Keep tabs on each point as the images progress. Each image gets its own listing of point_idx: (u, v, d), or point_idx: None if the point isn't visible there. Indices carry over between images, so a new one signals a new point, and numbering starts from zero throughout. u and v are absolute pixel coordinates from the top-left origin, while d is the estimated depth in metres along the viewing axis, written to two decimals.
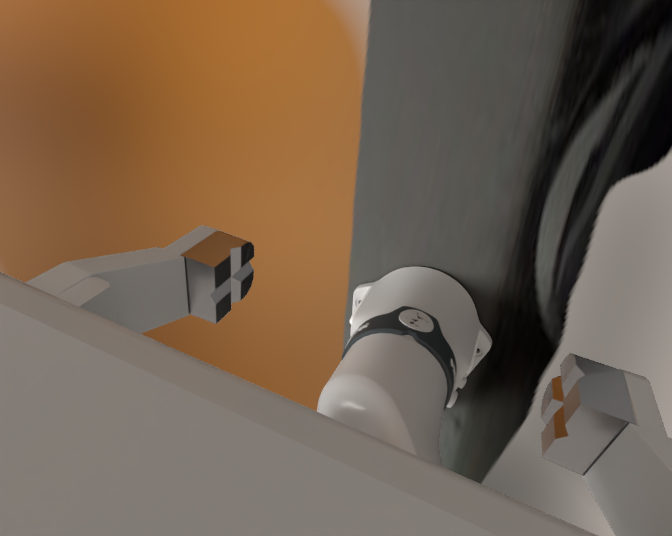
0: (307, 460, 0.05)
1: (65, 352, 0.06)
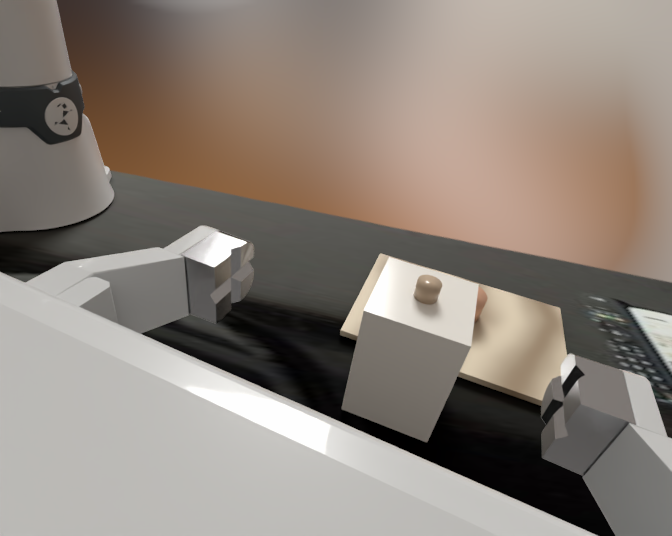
0: (307, 460, 0.05)
1: (65, 352, 0.06)
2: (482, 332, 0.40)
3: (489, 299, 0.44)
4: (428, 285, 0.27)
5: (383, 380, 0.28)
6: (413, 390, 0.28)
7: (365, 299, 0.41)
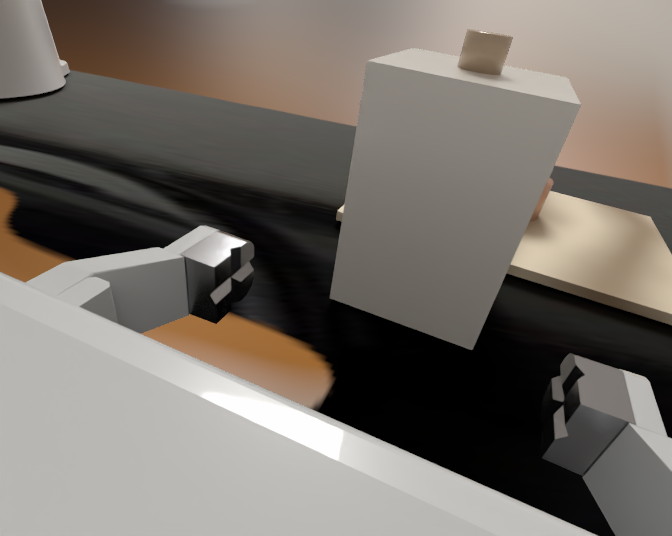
0: (307, 460, 0.05)
1: (65, 352, 0.06)
2: (545, 230, 0.27)
3: (549, 200, 0.31)
4: (488, 33, 0.14)
5: (400, 224, 0.16)
6: (454, 238, 0.16)
7: None
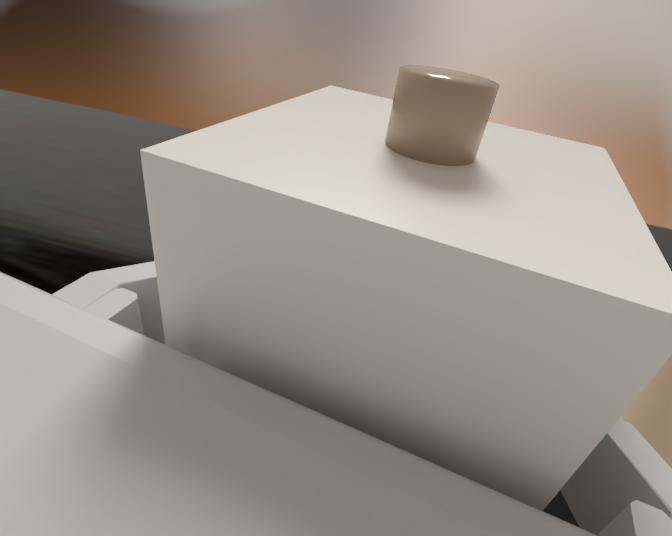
0: (307, 460, 0.05)
1: (65, 352, 0.06)
2: None
3: None
4: (442, 78, 0.06)
5: None
6: None
7: None
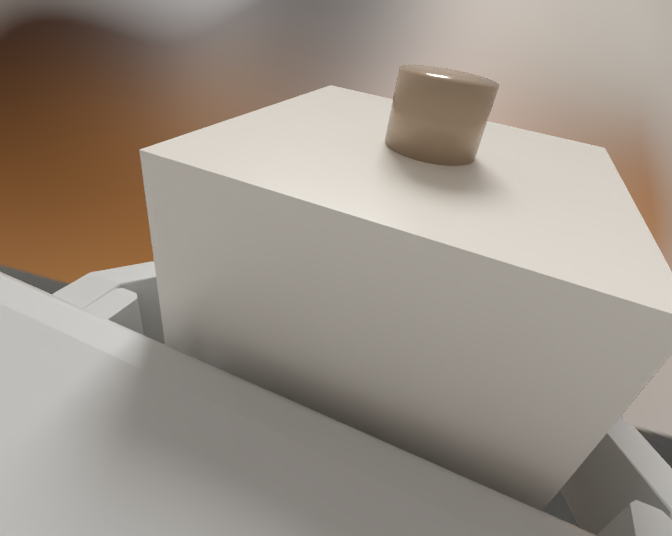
0: (307, 460, 0.05)
1: (65, 352, 0.06)
2: None
3: None
4: (442, 77, 0.06)
5: None
6: None
7: None
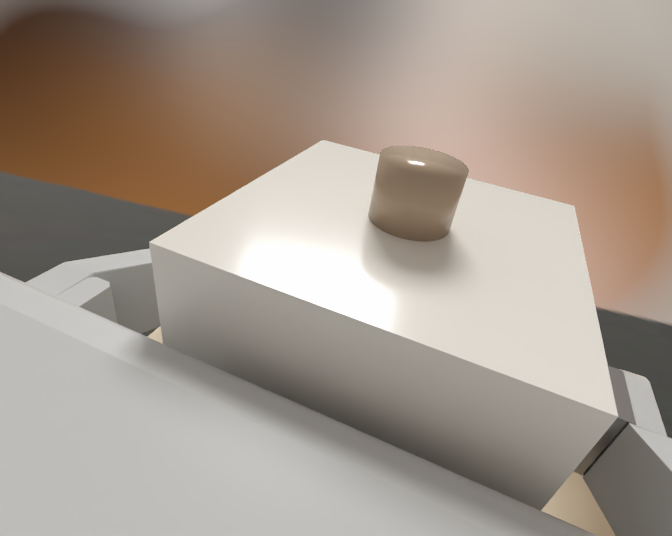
0: (307, 460, 0.05)
1: (65, 352, 0.06)
2: None
3: None
4: (417, 166, 0.07)
5: None
6: None
7: None
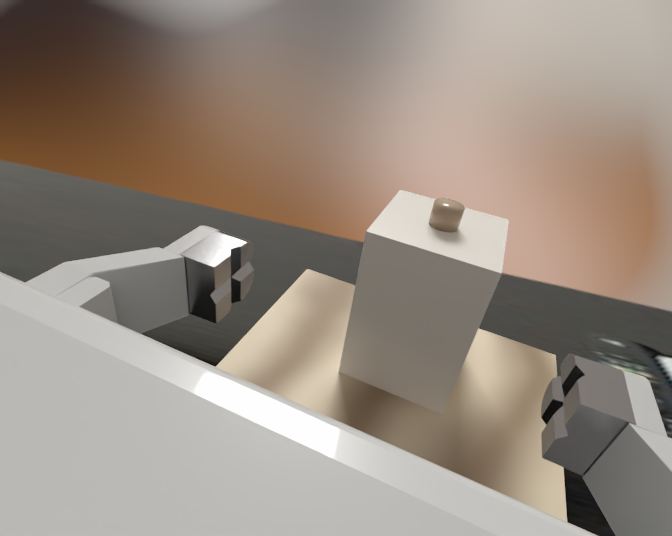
0: (307, 460, 0.05)
1: (65, 352, 0.06)
2: None
3: None
4: (447, 207, 0.21)
5: (389, 329, 0.23)
6: (426, 341, 0.22)
7: (261, 333, 0.28)
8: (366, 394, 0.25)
